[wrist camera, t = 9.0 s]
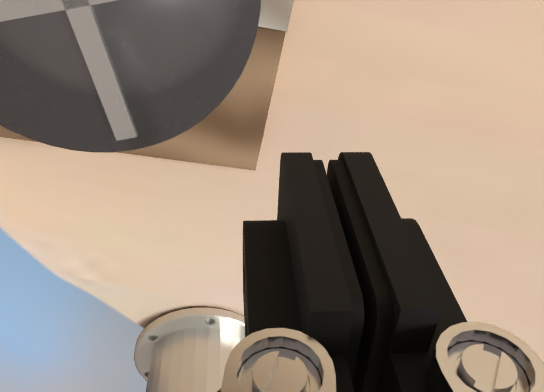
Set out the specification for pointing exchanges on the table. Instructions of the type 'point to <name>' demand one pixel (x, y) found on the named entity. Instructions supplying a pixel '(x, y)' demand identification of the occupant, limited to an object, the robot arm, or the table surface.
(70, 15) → the handwheel
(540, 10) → the table surface
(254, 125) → the valve base
